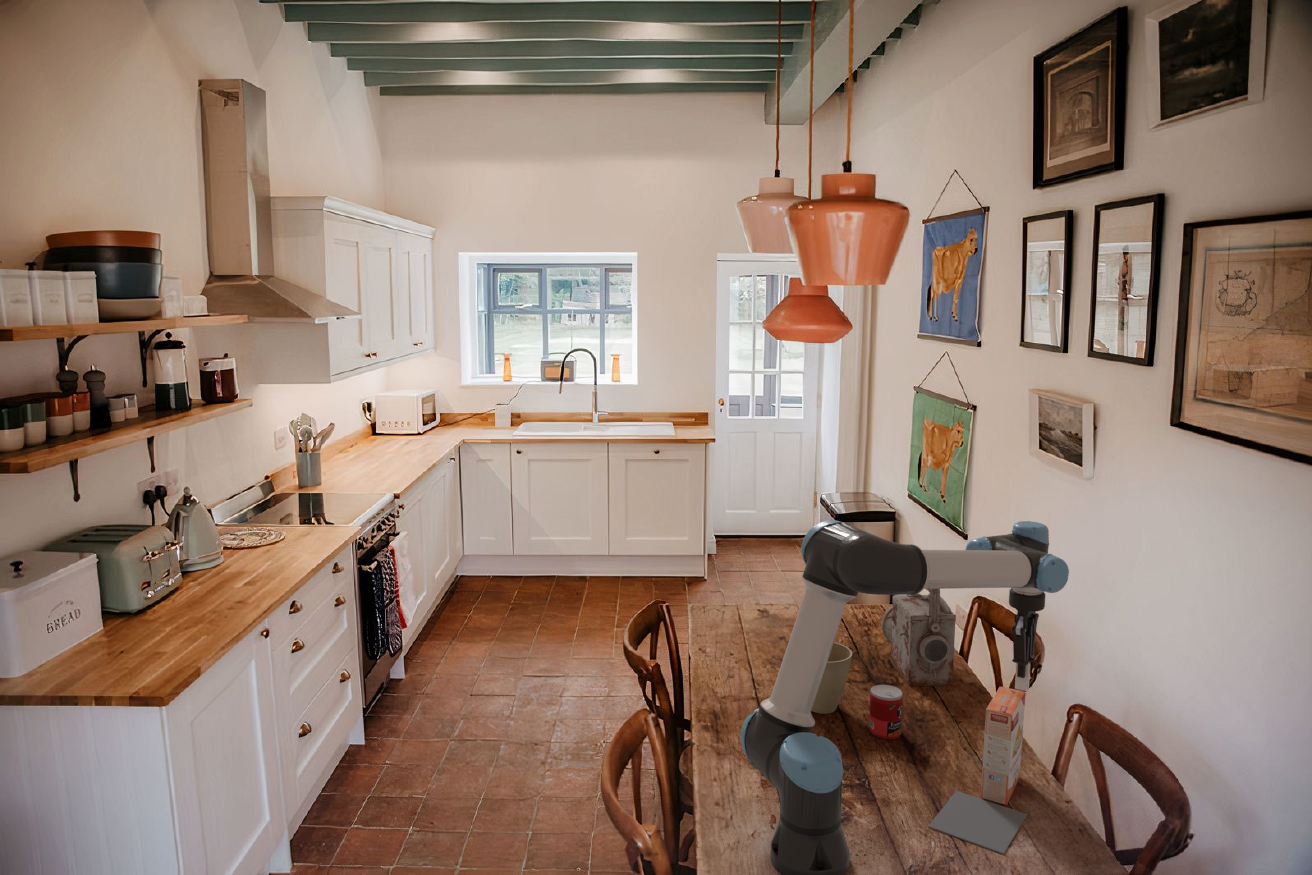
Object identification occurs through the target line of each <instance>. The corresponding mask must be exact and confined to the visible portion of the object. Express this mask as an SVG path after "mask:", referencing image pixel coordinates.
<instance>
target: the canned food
mask: <svg viewBox="0 0 1312 875" xmlns="http://www.w3.org/2000/svg"><path fill="white" fill-rule="evenodd" d="M869 693H870V695H869V730H870V734H872V735H873V736H874V735H875V737H876V736H877V737H876V738H879V739H882V740H883V739H884V740H895V739H898V738H900V736H901V734H902V729H903V728H902V726H903V724H902V723H903V700H904V699H903V697H904V696H903V691H902V690H901V689H900V688H898V687H896V686H893V685H888V684H877V685H873V686H871V688H870V692H869Z"/></svg>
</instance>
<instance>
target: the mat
mask: <svg viewBox="0 0 1312 875" xmlns="http://www.w3.org/2000/svg"><path fill="white" fill-rule="evenodd" d="M1027 817H1028V813H1025V812H1022V811H1019V810H1016V809H1013V808H1010V807H1007V806H1005V805H1002V804H999V803H996V802H993V801H989V800H986V799H982V798H981V797H976V796H973V795H970V794H967V793H964V792H961V791H959V790H955V791H954V793H953V794H952V796H951V797H950V798H949V799H948V800H947V802H945V804H944V805H943V807H942V808H941V809H940V811H939V812H938V813H937V814H936V816H935V817H934V818H933V820H932V821H931V822H930V824H929V825H928V828H929V829H932V830H934V831H937V832H940V833H943V834H946V835H948V836H951V837H954V838H956V839H959V840H962V841H964V842H967V843H970V844H973V845H976V846H979V847H981V848H985V849H987V850H989V851H993V852H996V853H998V854H1001V855H1005V853H1006V852H1007V850H1008V848H1009V846H1010V845H1011V843H1012V842H1013V840H1014V838H1015V837H1016V835H1017V833H1018V832H1019V831H1020V829H1021V827H1022V825H1023V823H1024V821H1025V820H1026V818H1027Z"/></svg>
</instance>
